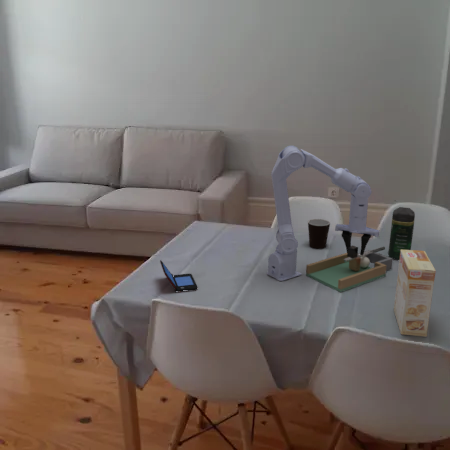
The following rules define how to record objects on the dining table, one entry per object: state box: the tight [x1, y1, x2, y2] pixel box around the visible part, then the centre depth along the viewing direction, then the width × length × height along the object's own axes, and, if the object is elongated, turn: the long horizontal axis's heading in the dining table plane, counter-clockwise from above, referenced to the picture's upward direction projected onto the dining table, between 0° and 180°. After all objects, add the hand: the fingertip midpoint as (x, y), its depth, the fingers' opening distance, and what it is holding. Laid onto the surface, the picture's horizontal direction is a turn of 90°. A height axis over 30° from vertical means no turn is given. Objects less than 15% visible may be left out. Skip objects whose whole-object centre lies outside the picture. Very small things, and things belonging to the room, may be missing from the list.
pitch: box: [305, 249, 394, 293], centre depth 179 cm, size 29×16×4 cm, turn 125°
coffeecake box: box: [393, 249, 437, 338], centre depth 144 cm, size 15×7×20 cm, turn 170°
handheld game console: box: [159, 259, 198, 292], centre depth 171 cm, size 12×11×7 cm
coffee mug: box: [307, 218, 331, 250], centre depth 205 cm, size 12×9×10 cm
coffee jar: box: [387, 206, 416, 261], centre depth 192 cm, size 10×8×19 cm
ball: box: [360, 256, 371, 268], centre depth 182 cm, size 4×4×4 cm
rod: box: [344, 245, 386, 271], centre depth 181 cm, size 20×3×8 cm, turn 125°
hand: (355, 253), depth 178 cm, fingers open, 4 cm apart
